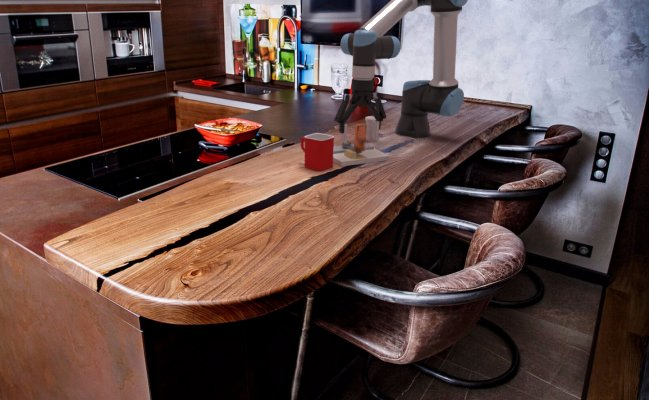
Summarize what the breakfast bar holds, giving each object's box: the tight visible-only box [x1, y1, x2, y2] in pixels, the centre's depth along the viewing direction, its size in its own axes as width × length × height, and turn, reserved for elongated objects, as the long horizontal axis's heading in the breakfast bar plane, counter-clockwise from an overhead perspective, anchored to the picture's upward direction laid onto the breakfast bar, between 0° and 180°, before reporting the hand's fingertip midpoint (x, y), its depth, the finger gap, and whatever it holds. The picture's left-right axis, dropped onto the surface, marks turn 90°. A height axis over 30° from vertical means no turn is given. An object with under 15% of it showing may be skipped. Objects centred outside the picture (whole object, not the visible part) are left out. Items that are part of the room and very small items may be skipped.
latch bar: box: [341, 123, 367, 153], centre depth 178 cm, size 13×4×10 cm, turn 29°
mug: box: [300, 132, 335, 172], centre depth 168 cm, size 12×8×11 cm
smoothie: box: [365, 106, 377, 143], centre depth 202 cm, size 6×6×14 cm
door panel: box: [333, 148, 391, 167], centre depth 178 cm, size 20×10×4 cm, turn 118°
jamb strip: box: [333, 142, 375, 154], centre depth 185 cm, size 20×6×2 cm, turn 118°
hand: (359, 140), depth 174 cm, fingers open, 12 cm apart
